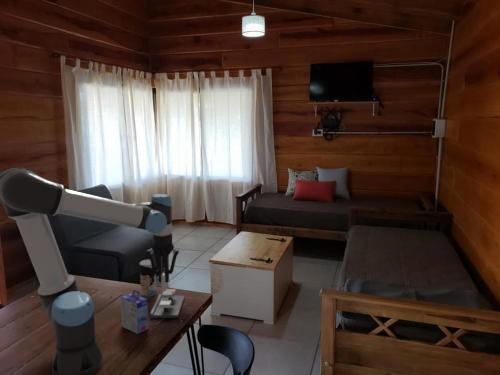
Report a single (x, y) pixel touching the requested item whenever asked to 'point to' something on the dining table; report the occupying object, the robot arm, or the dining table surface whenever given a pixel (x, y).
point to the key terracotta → (173, 291)
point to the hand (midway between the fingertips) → (164, 289)
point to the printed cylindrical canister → (147, 279)
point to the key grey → (167, 294)
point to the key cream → (165, 303)
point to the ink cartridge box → (134, 312)
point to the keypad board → (167, 312)
